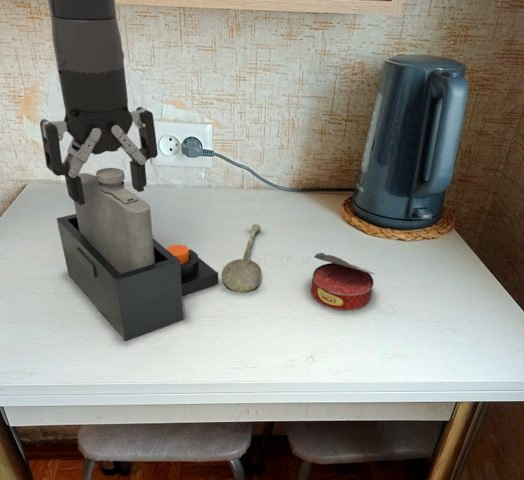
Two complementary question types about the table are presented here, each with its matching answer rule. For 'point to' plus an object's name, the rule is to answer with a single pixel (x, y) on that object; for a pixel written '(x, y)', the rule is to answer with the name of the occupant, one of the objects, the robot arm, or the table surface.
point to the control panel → (196, 275)
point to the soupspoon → (243, 270)
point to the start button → (179, 252)
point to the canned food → (341, 284)
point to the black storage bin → (124, 284)
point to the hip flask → (115, 220)
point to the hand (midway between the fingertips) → (109, 196)
